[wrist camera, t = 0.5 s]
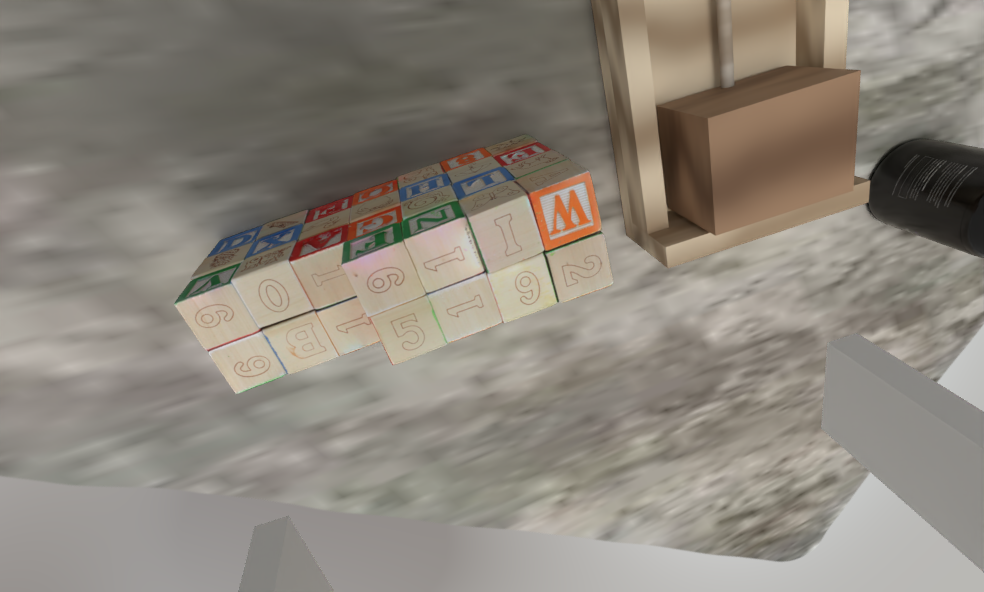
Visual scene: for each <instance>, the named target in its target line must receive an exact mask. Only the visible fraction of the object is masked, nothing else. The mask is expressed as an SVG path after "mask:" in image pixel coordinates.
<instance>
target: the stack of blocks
mask: <svg viewBox="0 0 984 592" xmlns="http://www.w3.org/2000/svg"><path fill="white" fill-rule="evenodd" d="M601 229H602V228H601V220H600V215H599V210H598V206H597V201H596V197H595V192H594V188H593V183H592V179H591V175H590V172H589V171H588V170H586V169H584V168H582V167H581V166H579V165H577V164H575V163H573V162H571V160H570V159H569V158H567V157H564V155H562V154H560V153H559V152H556V151H555V150H551V149H549V148H548V147H546V146H544V145H542V144H541V143H538V141H537V140H536V139H534V138H532V137H530V136H528V135H522V136H519V137H516V138H513V139H510V140H507V141H504V142H501V143H498V144H495V145H492V146H489V147H486V148H480V149H477V150H474V151H471V152H468V153H465V154H462V155H459V156H457V157H454V158H451V159H448V160H445V161H442V162H440V163H436V164H433V165H430V166H427V167H424V168H421V169H418V170H415V171H412V172H410V173H407V174H404V175H401V176H399V177H397V178H396V179H395V180H393V181H389V182H386V183H384V184H381V185H378V186H375V187H372V188H369V189H367V190H364V191H361V192H358V193H355V194H354V195H353V196H350V197H347V198H343V199H340V200H337V201H335V202H332V203H329V204H327V205H323V206H321V207H318V208H315V209H312V210H311V211H309V210H304V211H301V212H298V213H295V214H292V215H289V216H286V217H284V218H281V219H278V220H275V221H272V222H269V223H267V224H265V225H263V226H260V227H257V228H254V229H251V230H248V231H245V232H242V233H240V234H237V235H234V236H231V237H228V238H225V239H223V240H221V241H219V242H218V244H217V245H216V246H215V248H214V249H213V250H212V251H211V253H210V254H209V255H208V257H207V258H206V259H205V260H204V261H203V262H202V264H201V265H200V266H199V267H198V269H197V270H196V271H195V273H194V274H193V275H192V277H191V280H192V281H191V282H190V283H189V284H188V285H187V287H186V288H185V290H184V291H183V292H182V293H181V295H180V296H179V297H178V299H177V300H176V302H175V303H174V305H175V306H176V308H177V309H178V311H179V312H180V314H181V315H182V317H183V318H184V320H185V321H186V323H187V324H188V325H189V327H190V328H191V330H192V331H193V333H194V334H195V336H196V338H197V339H198V341H199V342H200V344H201V345H202V346H203V348H204V349H205V350H208V353H209V355H210V356H211V358H212V359H213V361H214V362H215V364H216V365H217V367H218V368H219V370H220V371H221V373H222V374H223V375H224V377H225V378H226V380H227V382H228V383H229V384H230V386H231V388H232V389H233V390H234V392H235V393H242V392H244V391H246V390H249V389H252V388H254V387H257V386H259V385H262V384H265V383H267V382H270V381H273V380H275V379H278V378H280V377H283V376H284V375H286V374H294V373H296V372H299V371H302V370H304V369H307V368H310V367H313V366H315V365H318V364H320V363H323V362H326V361H328V360H331V359H334V358H336V357H338V356H340V355H345V354H348V353H351V352H354V351H356V350H359V349H361V348H364V347H366V346H369V345H371V344H374V343H376V342H379V341H381V342H382V344H383V346H384V348H385V351H386V353H387V355H388V357H389V359H390V361H391V363H392V365H396V364H399V363H401V362H404V361H406V360H409V359H412V358H414V357H417V356H419V355H422V354H424V353H427V352H430V351H433V350H435V349H438V348H440V347H443V346H446V345H447V344H448V343H450V342H453V341H456V340H459V339H462V338H464V337H467V336H470V335H472V334H475V333H477V332H479V331H482V330H485V329H488V328H491V327H493V326H496V325H498V324H500V323H501V322H503V323H507V322H510V321H512V320H515V319H518V318H521V317H523V316H526V315H529V314H532V313H534V312H537V311H540V310H542V309H545V308H547V307H550V306H553V305H555V304H557V302H566V301H569V300H572V299H575V298H578V297H580V296H583V295H586V294H589V293H591V292H594V291H597V290H600V289H603V288H605V287H608V286H610V285H612V284H613V277H612V272H611V267H610V262H609V257H608V252H607V247H606V242H605V237H604V234H603V233H602V232H601V231H600V230H601Z"/></svg>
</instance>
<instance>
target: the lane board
mask: <svg viewBox="0 0 984 592" xmlns="http://www.w3.org/2000/svg"><path fill="white" fill-rule="evenodd" d="M591 4H592V11H593V17H594V24H595V31H596V37H597V44H598V50H599V57H600V64H601V70H602V77H603V83H604V90H605V97H606V103H607V110H608V116H609V123H610V130H611V136H612V143H613V149H614V156H615V163H616V169H617V176H618V182H619V189H620V196H621V202H622V209H623V215H624V222H625V229H626V235H627V236H628V237H629V238H631V239H632V240H633V241H634V242H636V243H637V244H638V245H639V246H641V247H642V248H643V249H644V250H646V251H647V252H648V253H649V254H651V255H652V256H653V257H654V258H656V259H657V260H658V261H659V262H661V263H662V264H663V265H665V266H666V267H667V268H671V267H674V266H677V265H680V264H683V263H686V262H689V261H692V260H695V259H698V258H701V257H704V256H707V255H710V254H713V253H716V252H719V251H722V250H725V249H728V248H731V247H734V246H738V245H741V244H744V243H747V242H750V241H753V240H756V239H759V238H762V237H765V236H768V235H771V234H774V233H777V232H780V231H783V230H786V229H789V228H792V227H795V226H798V225H801V224H804V223H807V222H810V221H813V220H817V219H820V218H823V217H826V216H829V215H832V214H835V213H838V212H841V211H844V210H847V209H850V208H853V207H856V206H859V205H862V204H865V203H868V202H869V190H870V180H867V179H863V178H860V177H856V176H854V187H853V191H851V192H848V193H845V194H842V195H839V196H836V197H833V198H830V199H827V200H824V201H820V202H817V203H814V204H811V205H808V206H805V207H802V208H799V209H796V210H793V211H790V212H787V213H784V214H781V215H778V216H775V217H772V218H769V219H765V220H762V221H759V222H756V223H753V224H750V225H747V226H744V227H741V228H738V229H735V230H732V231H729V232H726V233H723V234H720V235H717V236H715V235H713V234H712V233H710V232H708V231H707V230H705V229H703V228H701V227H700V226H698V225H696V224H695V223H693V222H691V221H690V220H688V219H686V218H684V217H683V216H681V215H679V214H678V213H676V212H674V211H672V210H671V209H669V208H668V205H667V195H666V186H665V177H664V168H663V159H662V150H661V140H660V131H659V122H658V113H657V106H658V105H662V104H665V103H668V102H671V101H674V100H678V99H681V98H684V97H687V96H690V95H694V94H697V93H700V92H703V91H706V90H710V89H713V88H716V87H719V86H721V83H720V65H719V46H718V28H717V9H716V0H591ZM848 8H849V0H731V13H732V37H733V60H734V82H735V81H739V80H742V79H745V78H748V77H751V76H755V75H758V74H761V73H764V72H767V71H771V70H774V69H777V68H780V67H783V66H787V65H788V66H803V67H818V68H833V69H846V49H847V28H848Z"/></svg>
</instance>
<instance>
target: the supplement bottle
mask: <svg viewBox="0 0 984 592" xmlns="http://www.w3.org/2000/svg"><path fill="white" fill-rule="evenodd" d="M868 204H869V208H870V210H871V212H872V214H873V215H874V216H875V217H876V218H877V219H878V220H879V221H881V222H883V223H885V224H888V225H891V226H893V227H896V228H899V229H901V230H904V231H907V232H910V233H913V234H915V235H918V236H921V237H924V238H926V239H929V240H932V241H935V242H938V243H940V244H943V245H946V246H949V247H952V248H954V249H957V250H960V251H963V252H966V253H968V254H971V255H974V256H978V257H981V258H984V148H978V147H972V146H967V145H961V144H956V143H950V142H944V141H938V140H932V139H918V140H913V141H910V142H907V143H905V144H903V145H901V146H899V147H898V148H896V149H895V150H893V151H892V152H891V153H890V154H889V155H888V156H887V157H886V158H885V159H884V160H883V161H882V162H881V163H880V165H879V166H878V168H877V169H876V171H875V173H874V175H873V177H872V179H871V182H870V190H869V202H868Z"/></svg>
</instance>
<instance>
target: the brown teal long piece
mask: <svg viewBox="0 0 984 592" xmlns="http://www.w3.org/2000/svg"><path fill="white" fill-rule="evenodd" d="M716 9H717V28H718V46H719V65H720V83H721V86H719V87H716V88H713V89H710V90H706V91H703V92H700V93H697V94H694V95H690V96H687V97H684V98H681V99H678V100H674V101H671V102H668V103H665V104H662V105H658V106H657V113H658V122H659V131H660V140H661V150H662V159H663V168H664V177H665V186H666V195H667V205H668V208H669V209H671V210H672V211H674V212H676V213H678V214H679V215H681V216H683V217H684V218H686V219H688V220H690V221H691V222H693V223H695V224H696V225H698V226H700V227H701V228H703V229H705V230H707V231H708V232H710V233H712V234H713V235H715V236H717V235H720V234H723V233H726V232H729V231H732V230H735V229H738V228H741V227H744V226H747V225H750V224H753V223H756V222H759V221H762V220H765V219H769V218H772V217H775V216H778V215H781V214H784V213H787V212H790V211H793V210H796V209H799V208H802V207H805V206H808V205H811V204H814V203H817V202H820V201H824V200H827V199H830V198H833V197H836V196H839V195H842V194H845V193H848V192H851V191H853V187H854V171H855V154H856V138H857V122H858V106H859V90H860V73H861V70H848V69H833V68H818V67H803V66H788V65H787V66H783V67H780V68H777V69H774V70H771V71H767V72H764V73H761V74H758V75H755V76H751V77H748V78H745V79H742V80H739V81H735V82H734V60H733V37H732V13H731V0H716Z"/></svg>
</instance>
